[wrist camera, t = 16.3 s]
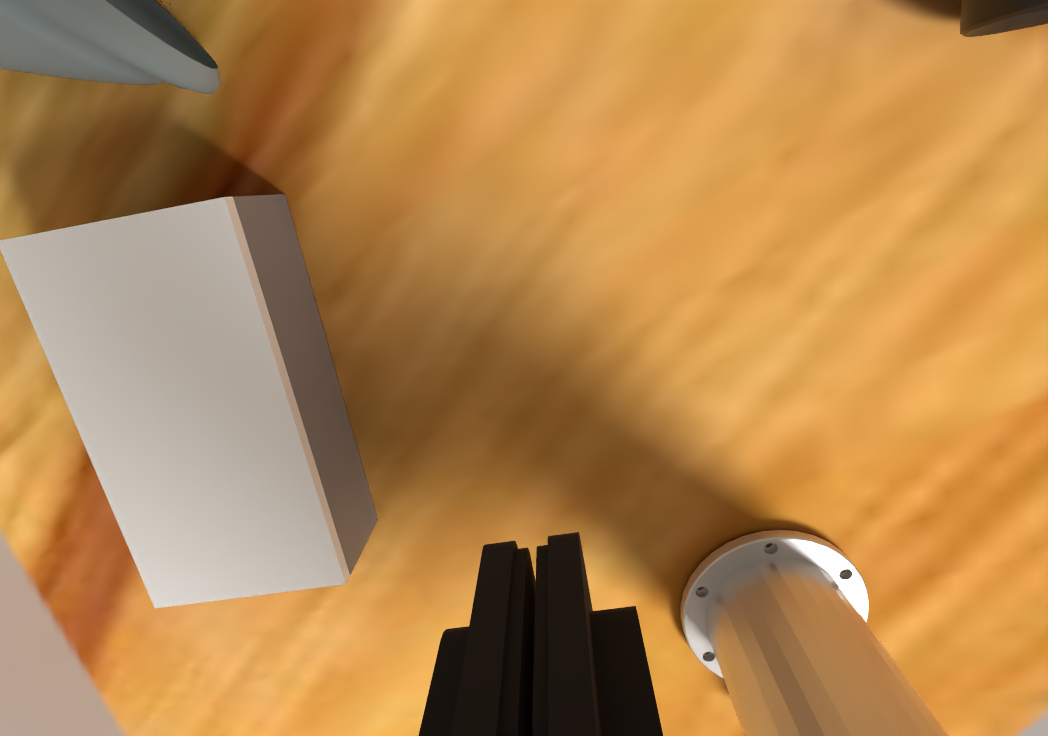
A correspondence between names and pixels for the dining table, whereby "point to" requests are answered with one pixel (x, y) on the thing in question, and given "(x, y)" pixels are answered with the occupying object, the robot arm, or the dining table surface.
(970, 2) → the muzzle brake
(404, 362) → the dining table surface
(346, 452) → the cable duct
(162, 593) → the plate
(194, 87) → the pencil case
